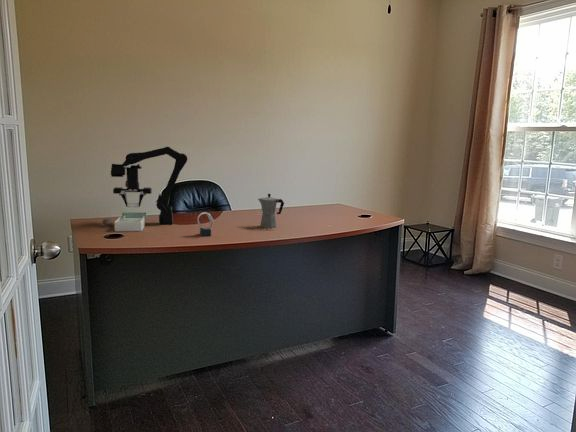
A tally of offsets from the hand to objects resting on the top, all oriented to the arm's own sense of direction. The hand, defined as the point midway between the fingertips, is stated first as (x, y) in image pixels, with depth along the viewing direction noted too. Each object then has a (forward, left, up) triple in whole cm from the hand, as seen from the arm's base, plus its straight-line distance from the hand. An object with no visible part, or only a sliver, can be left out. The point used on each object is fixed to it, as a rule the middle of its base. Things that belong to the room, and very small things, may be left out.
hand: (133, 206), depth 238 cm
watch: (-37, +30, -9) cm, 48 cm away
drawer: (0, +3, -8) cm, 8 cm away
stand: (+12, +7, -9) cm, 17 cm away
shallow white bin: (0, +12, -9) cm, 15 cm away
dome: (0, 0, 0) cm, 0 cm away
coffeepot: (-72, +10, -9) cm, 73 cm away
